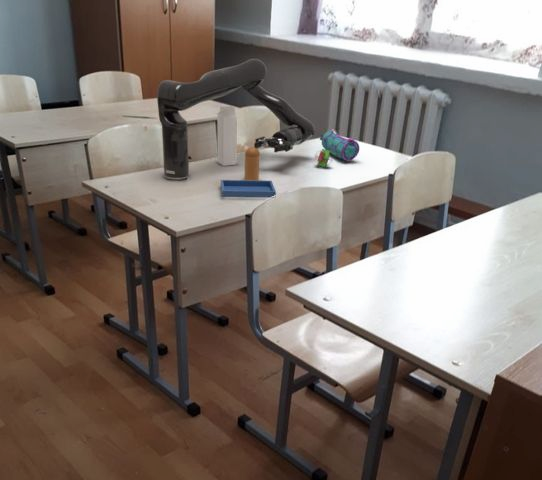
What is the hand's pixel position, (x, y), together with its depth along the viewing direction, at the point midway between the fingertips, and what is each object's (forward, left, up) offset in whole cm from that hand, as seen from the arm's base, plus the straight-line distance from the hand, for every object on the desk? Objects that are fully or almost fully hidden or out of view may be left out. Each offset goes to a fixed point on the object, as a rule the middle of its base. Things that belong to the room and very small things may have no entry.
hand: (265, 147), depth 226 cm
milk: (-16, -14, -11) cm, 24 cm away
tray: (+22, -8, -11) cm, 25 cm away
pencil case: (-31, +36, -11) cm, 49 cm away
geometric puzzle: (-15, +26, -11) cm, 32 cm away
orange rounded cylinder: (+8, -6, -11) cm, 14 cm away
